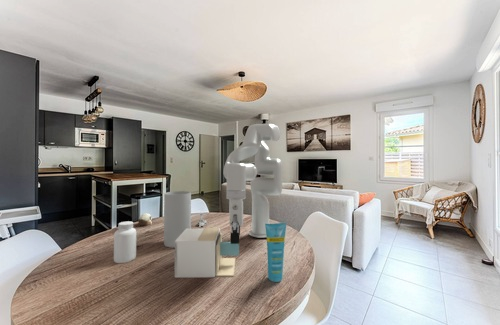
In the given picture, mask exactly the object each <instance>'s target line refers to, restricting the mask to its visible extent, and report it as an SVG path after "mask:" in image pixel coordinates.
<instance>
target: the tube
mask: <svg viewBox="0 0 500 325" xmlns="http://www.w3.org/2000/svg"><path fill="white" fill-rule="evenodd" d="M265 228H266V237H265V238H266V249H267V254H266V255H267V277H268V280H269V281H271V282H274V283H279V282H281V281H283V272H284V258H285V257H284V255H285V254H284V253H285V240H286V231H287V222H275V223H274V222H273V223H269V224H266V223H265Z"/></svg>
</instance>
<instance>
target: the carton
mask: <svg viewBox="0 0 500 325" xmlns="http://www.w3.org/2000/svg"><path fill="white" fill-rule="evenodd" d="M220 234H221V228H220V227H198V228H191V229H185V231H184V232H183V233H182V234H181V235H180V236H179V237H178V238H177V239H176V240H175V248H174V278H216V277H217V278H218V277H219V278H220V277H223V278H224V277H225V278H226V277H234V276H235V266H236V257H222V258H221V262H220V239H219V237H220Z"/></svg>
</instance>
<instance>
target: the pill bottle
mask: <svg viewBox="0 0 500 325" xmlns="http://www.w3.org/2000/svg"><path fill="white" fill-rule="evenodd" d="M117 225H118V226H117V230H116V231H114V234H113V262H114V263H116V264H126V263H130V262H132V261H134V260H135V259H136V257H137V230H136V228H135V227H134V222H133V221H129V220H128V221H121V222H119V223H117Z"/></svg>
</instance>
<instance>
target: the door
mask: <svg viewBox="0 0 500 325" xmlns="http://www.w3.org/2000/svg"><path fill="white" fill-rule="evenodd" d="M219 239H220V262H221V258H223V256H239V255H240V243H239V244H231V243H230V241H223V232H220V237H219Z"/></svg>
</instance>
